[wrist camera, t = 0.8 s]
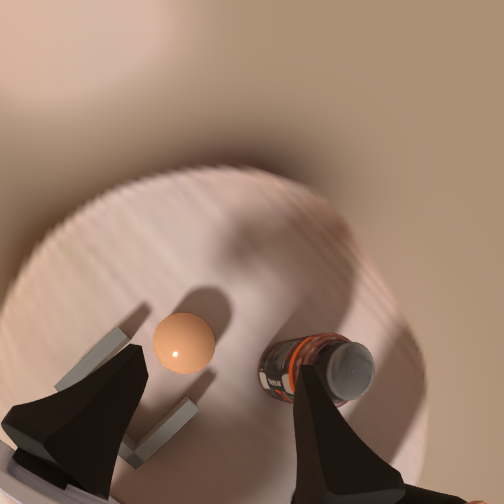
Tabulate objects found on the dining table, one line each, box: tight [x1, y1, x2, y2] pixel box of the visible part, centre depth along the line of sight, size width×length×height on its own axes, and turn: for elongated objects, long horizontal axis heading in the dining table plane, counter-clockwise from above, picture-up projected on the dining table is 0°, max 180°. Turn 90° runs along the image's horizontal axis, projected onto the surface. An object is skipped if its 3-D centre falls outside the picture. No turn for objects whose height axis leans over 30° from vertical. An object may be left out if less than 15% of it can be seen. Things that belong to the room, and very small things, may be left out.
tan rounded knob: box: [153, 313, 215, 374], centre depth 24 cm, size 5×5×4 cm
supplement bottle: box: [258, 333, 375, 408], centre depth 22 cm, size 6×6×11 cm
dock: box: [54, 326, 200, 469], centre depth 21 cm, size 8×9×3 cm
